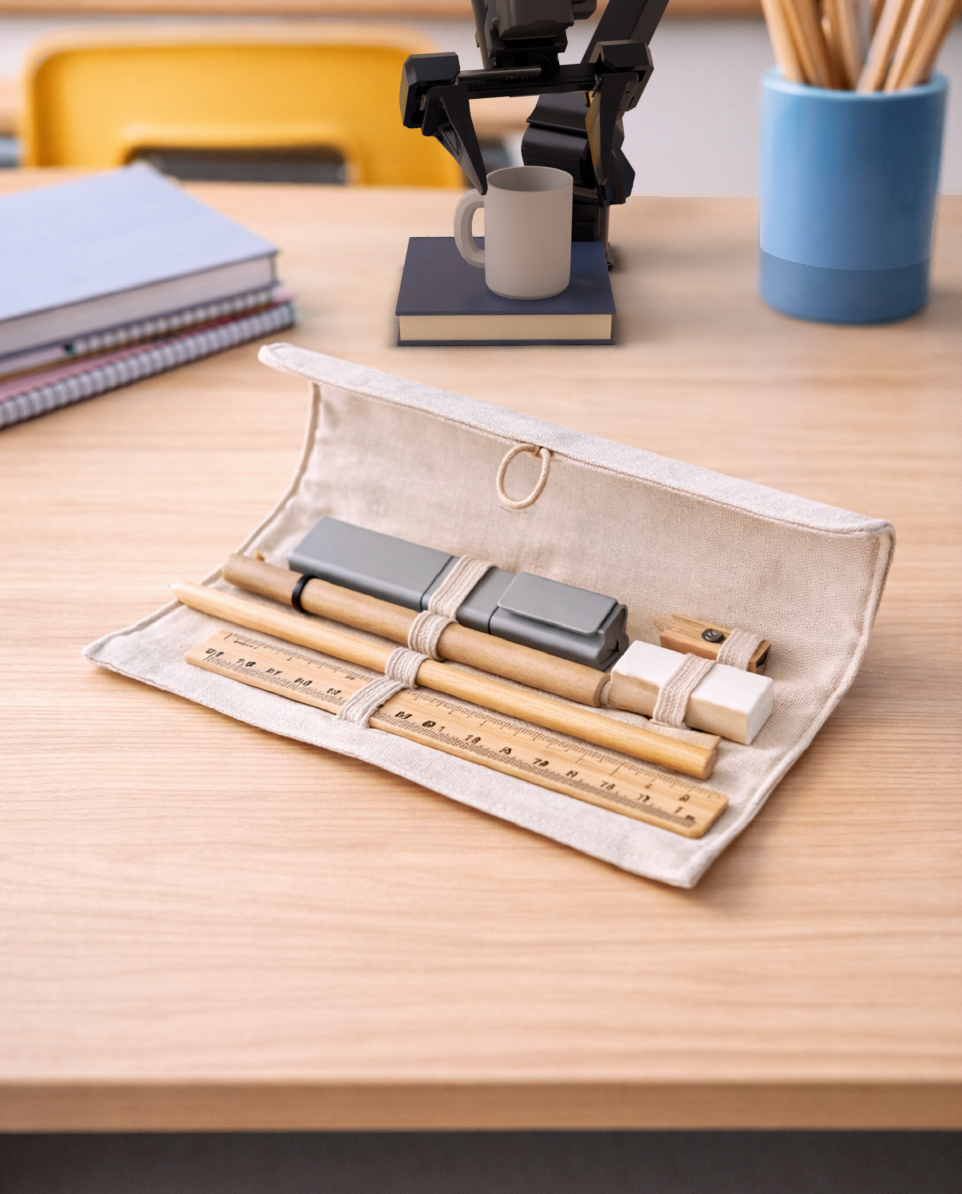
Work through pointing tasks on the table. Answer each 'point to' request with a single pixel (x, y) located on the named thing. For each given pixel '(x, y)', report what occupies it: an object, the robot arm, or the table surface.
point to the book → (499, 301)
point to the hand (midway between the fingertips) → (544, 187)
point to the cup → (520, 231)
